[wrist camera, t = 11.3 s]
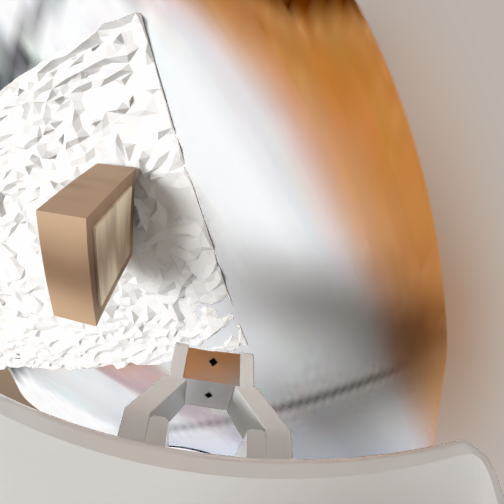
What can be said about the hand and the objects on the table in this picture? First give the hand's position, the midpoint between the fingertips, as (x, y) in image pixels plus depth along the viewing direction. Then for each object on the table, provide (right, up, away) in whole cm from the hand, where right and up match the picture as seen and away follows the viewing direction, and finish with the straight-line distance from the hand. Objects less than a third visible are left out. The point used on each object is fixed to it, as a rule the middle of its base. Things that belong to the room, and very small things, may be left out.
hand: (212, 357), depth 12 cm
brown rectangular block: (-8, +7, +10) cm, 15 cm away
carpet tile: (-21, +4, +14) cm, 26 cm away
